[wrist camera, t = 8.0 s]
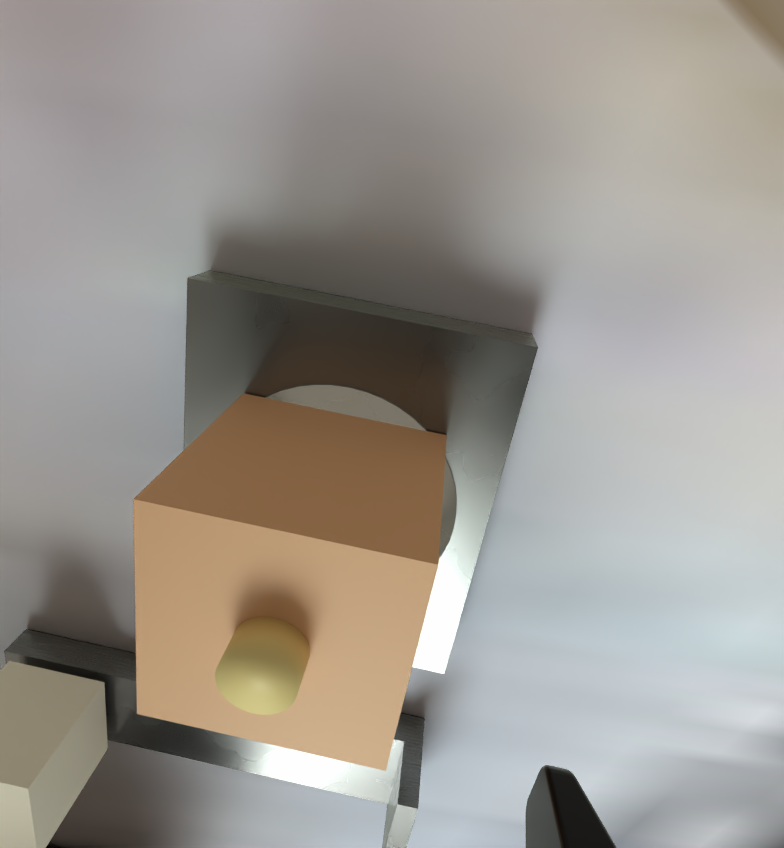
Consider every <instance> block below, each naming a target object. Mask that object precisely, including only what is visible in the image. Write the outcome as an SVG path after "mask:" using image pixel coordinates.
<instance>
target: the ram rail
mask: <svg viewBox="0 0 784 848" xmlns="http://www.w3.org/2000/svg"><path fill="white" fill-rule="evenodd" d="M5 658H6V664H7V663H8V662H9V661H13V662H17V663H21V664H26V665H30V666H35V667H39V668H44V669H48V670H52V671H57V672H61V673H66V674H70V675H74V676H79V677H83V678H88V679H92V680H96V681H101V682H104V683H105V703H106V723H107V740H111V741H115V742H120V743H124V744H128V745H133V746H137V747H141V748H146V749H150V750H154V751H159V752H163V753H168V754H172V755H176V756H181V757H185V758H189V759H194V760H198V761H202V762H207V763H211V764H215V765H220V766H224V767H228V768H233V769H237V770H241V771H246V772H250V773H254V774H259V775H263V776H267V777H272V778H276V779H280V780H285V781H289V782H293V783H298V784H302V785H306V786H311V787H315V788H319V789H324V790H328V791H332V792H337V793H341V794H345V795H350V796H354V797H358V798H363V799H367V800H371V801H376V802H380V803H384V804H387V813H386V821H385V829H384V837H383V845H382V848H406V847H407V844H408V840H409V837H410V834H411V830H412V827H413V824H414V820H415V817H416V814H417V810H418V801H419V787H420V774H421V760H422V746H423V732H424V718H420V717H415V716H411V715H406V714H402V713H400V717H399V721H398V725H397V729H396V733H395V737H394V741H393V744H392V748H391V752H390V756H389V760H388V764H387V768H386V771H384V770H380V769H375V768H371V767H366V766H362V765H358V764H353V763H349V762H345V761H340V760H336V759H332V758H327V757H323V756H318V755H314V754H310V753H305V752H301V751H297V750H292V749H288V748H284V747H279V746H275V745H270V744H266V743H262V742H257V741H253V740H249V739H244V738H240V737H236V736H231V735H227V734H223V733H218V732H214V731H209V730H205V729H201V728H196V727H192V726H188V725H183V724H179V723H175V722H170V721H166V720H161V719H157V718H153V717H148V716H144V715H140V714H137V686H136V654H134V653H130V652H125V651H121V650H117V649H112V648H108V647H103V646H99V645H94V644H90V643H85V642H81V641H76V640H72V639H68V638H63V637H59V636H54V635H50V634H45V633H41V632H36V631H32V630H27V629H26V630H25V631H24V632H23V633H22V634H21V635H20V636H19V637H18V638H17V639H16V640H15V641H14V642H13V643H12V644H11V645H10V646H9V647H8V648H7V649H6V650H5Z"/></svg>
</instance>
